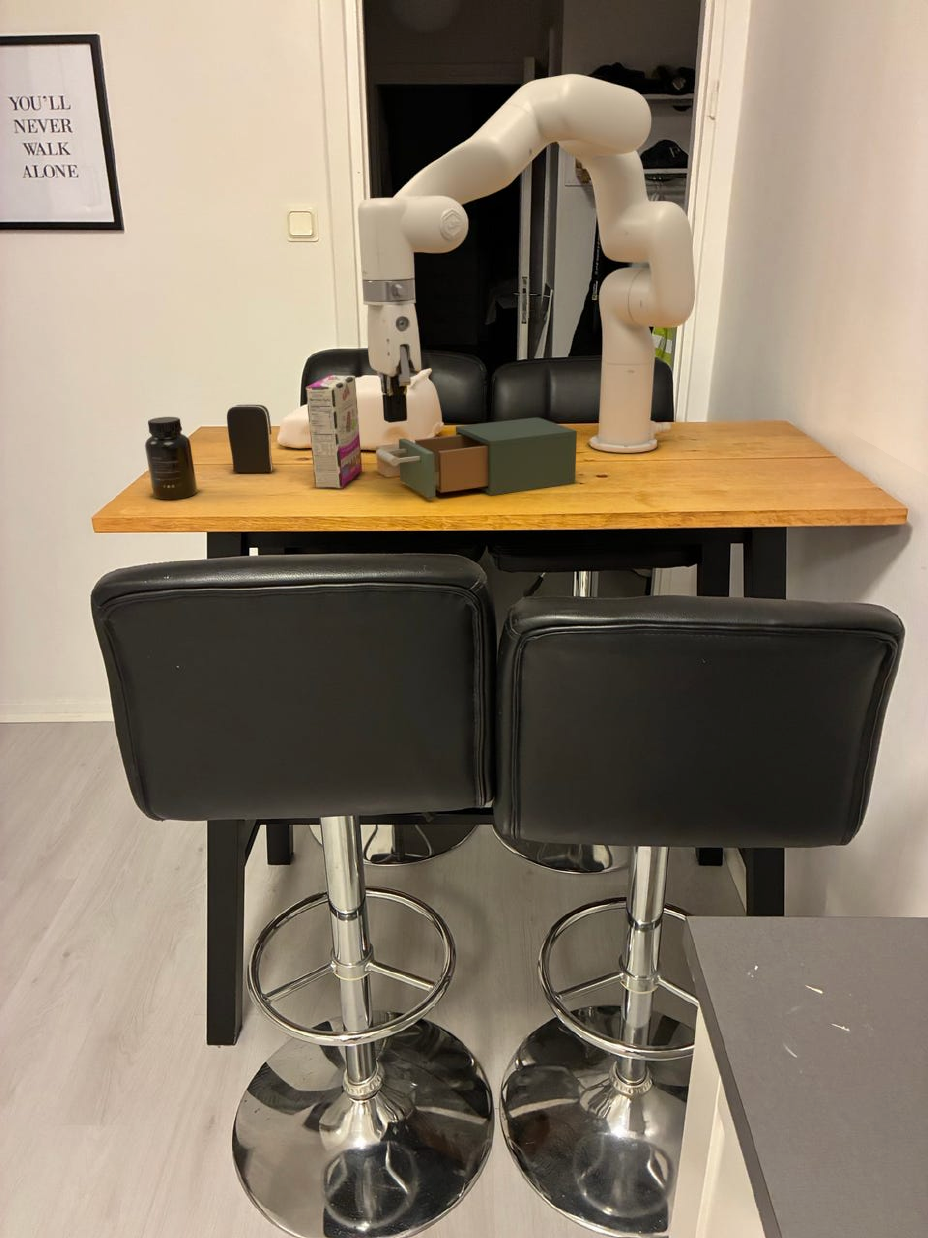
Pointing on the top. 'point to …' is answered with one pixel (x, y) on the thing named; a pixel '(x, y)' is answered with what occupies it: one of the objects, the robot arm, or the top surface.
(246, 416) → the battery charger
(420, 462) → the drawer
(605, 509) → the top surface
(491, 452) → the cabinet
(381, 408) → the white rounded body
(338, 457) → the candy bar box
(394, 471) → the cream box
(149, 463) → the supplement bottle
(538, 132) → the robot arm
